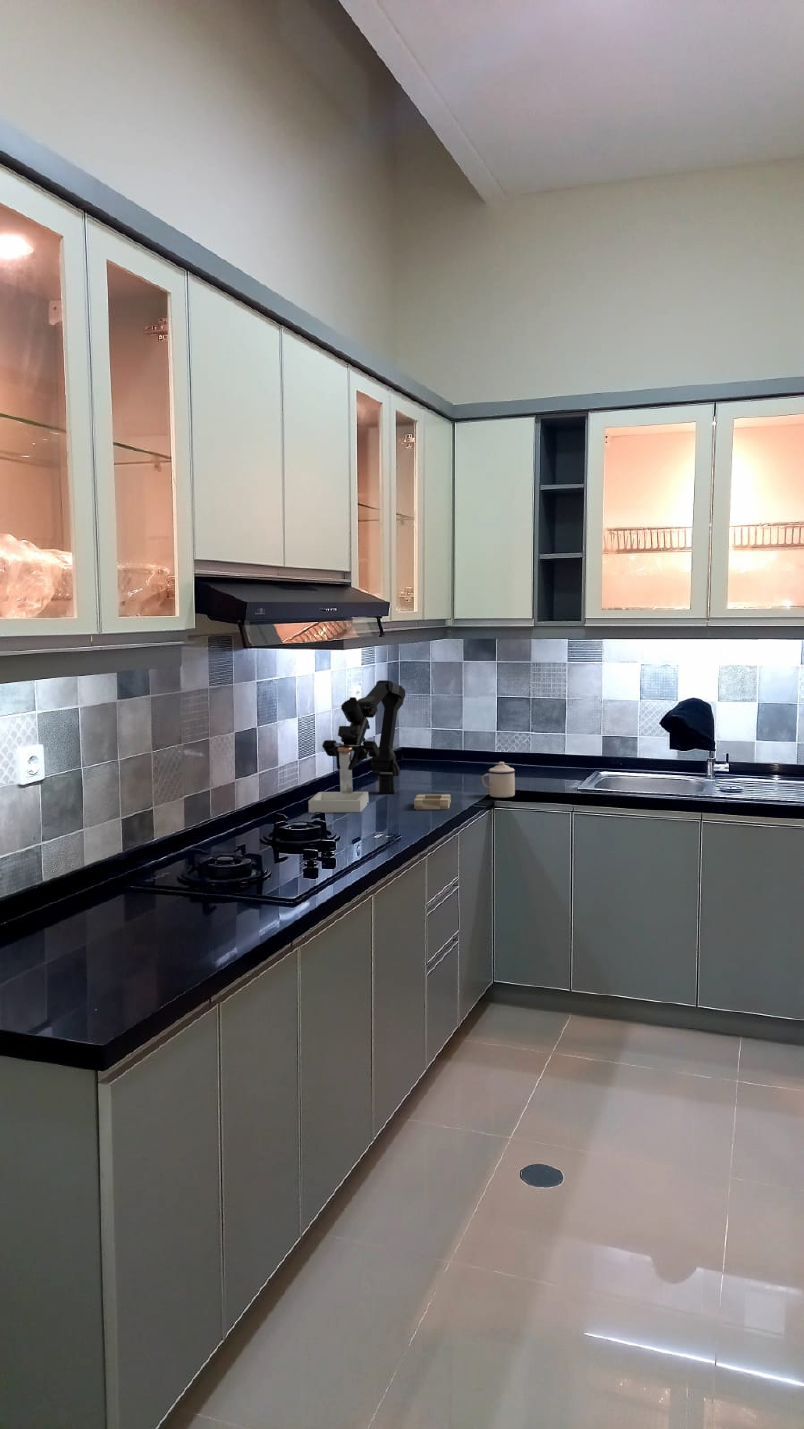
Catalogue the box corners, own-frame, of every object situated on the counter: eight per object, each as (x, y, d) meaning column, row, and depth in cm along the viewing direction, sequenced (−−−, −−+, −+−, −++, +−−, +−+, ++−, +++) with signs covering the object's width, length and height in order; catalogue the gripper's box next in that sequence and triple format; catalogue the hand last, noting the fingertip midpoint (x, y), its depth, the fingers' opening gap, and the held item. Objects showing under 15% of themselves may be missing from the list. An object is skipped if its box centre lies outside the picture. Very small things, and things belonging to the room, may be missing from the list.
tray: (319, 803, 346) (318, 792, 345) (368, 802, 344) (368, 791, 343) (308, 812, 329) (308, 801, 329) (360, 812, 327) (360, 800, 327)
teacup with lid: (519, 794, 352) (518, 760, 351) (509, 798, 344) (508, 764, 343) (488, 792, 358) (487, 759, 357) (477, 796, 350) (476, 763, 349)
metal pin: (349, 791, 336) (347, 746, 335) (356, 792, 332) (355, 747, 331) (336, 792, 333) (334, 747, 332) (344, 794, 329) (342, 748, 328)
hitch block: (417, 803, 340) (417, 794, 339) (450, 803, 338) (450, 794, 338) (414, 809, 329) (414, 800, 329) (448, 809, 328) (448, 800, 327)
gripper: (323, 716, 338) (309, 753, 329) (374, 716, 331) (362, 754, 321) (334, 736, 346) (321, 773, 337) (385, 737, 339) (372, 775, 329)
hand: (343, 769), depth 331 cm, fingers closed on metal pin, 4 cm apart
